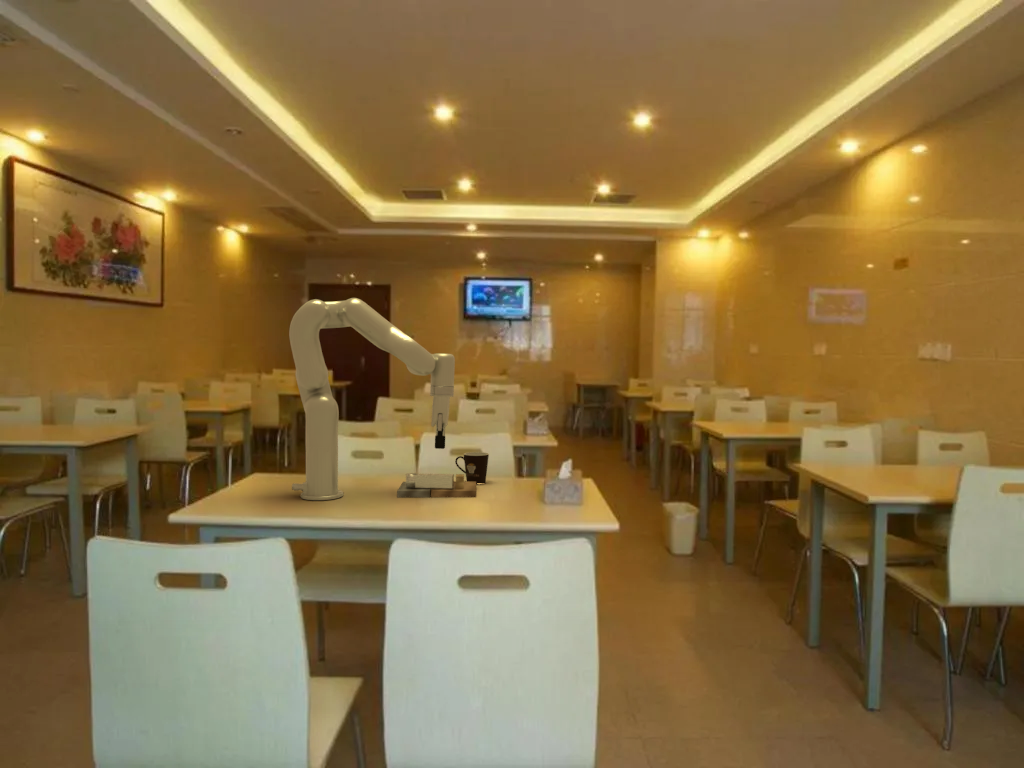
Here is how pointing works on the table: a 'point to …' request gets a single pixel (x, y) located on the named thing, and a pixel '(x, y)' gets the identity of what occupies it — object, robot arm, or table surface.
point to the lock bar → (429, 480)
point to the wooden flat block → (441, 490)
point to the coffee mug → (475, 466)
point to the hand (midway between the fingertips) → (439, 448)
